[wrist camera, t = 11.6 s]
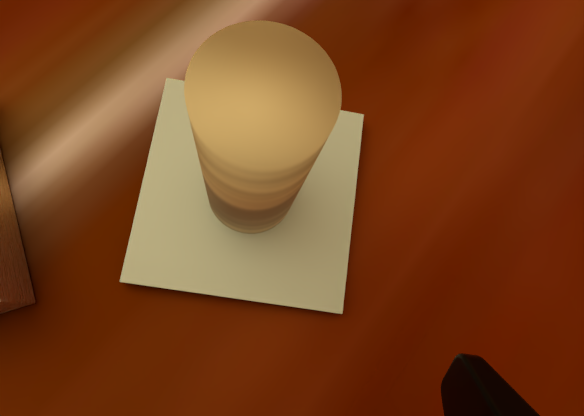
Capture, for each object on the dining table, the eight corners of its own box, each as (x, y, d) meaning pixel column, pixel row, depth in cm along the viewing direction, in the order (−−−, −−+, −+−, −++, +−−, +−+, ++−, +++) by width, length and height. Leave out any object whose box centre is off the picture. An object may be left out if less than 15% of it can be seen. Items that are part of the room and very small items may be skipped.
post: (286, 239, 21) (332, 177, 11) (200, 226, 20) (169, 149, 11) (297, 159, 22) (349, 36, 12) (216, 145, 21) (200, 7, 11)
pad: (339, 313, 21) (342, 313, 20) (122, 282, 20) (119, 281, 19) (360, 119, 23) (363, 114, 22) (168, 83, 22) (166, 77, 22)
